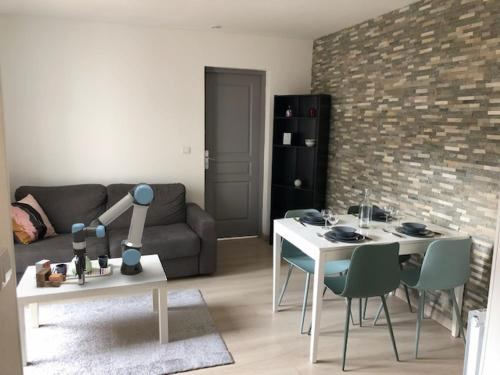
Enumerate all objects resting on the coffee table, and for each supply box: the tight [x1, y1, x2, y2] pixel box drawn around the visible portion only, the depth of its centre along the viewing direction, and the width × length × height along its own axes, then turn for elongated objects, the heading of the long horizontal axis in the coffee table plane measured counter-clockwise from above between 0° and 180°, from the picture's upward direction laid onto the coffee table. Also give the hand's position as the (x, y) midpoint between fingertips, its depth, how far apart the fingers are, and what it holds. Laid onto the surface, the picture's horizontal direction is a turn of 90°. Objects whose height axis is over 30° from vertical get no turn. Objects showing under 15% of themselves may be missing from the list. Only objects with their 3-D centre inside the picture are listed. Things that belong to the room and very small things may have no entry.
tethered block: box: [49, 268, 85, 286], centre depth 269 cm, size 21×6×10 cm, turn 93°
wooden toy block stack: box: [35, 267, 67, 288], centre depth 269 cm, size 14×11×9 cm
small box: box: [34, 259, 52, 274], centre depth 282 cm, size 8×6×10 cm
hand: (82, 282), depth 270 cm, fingers closed on tethered block, 3 cm apart
